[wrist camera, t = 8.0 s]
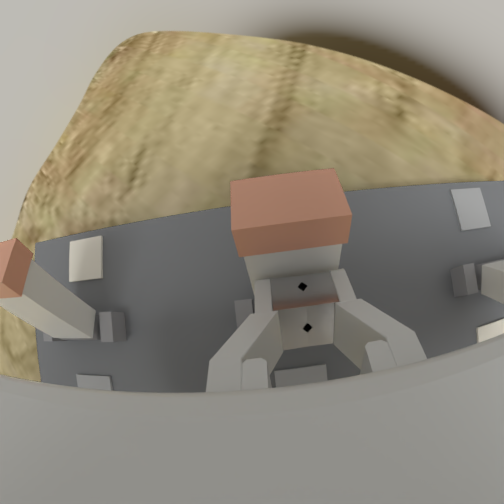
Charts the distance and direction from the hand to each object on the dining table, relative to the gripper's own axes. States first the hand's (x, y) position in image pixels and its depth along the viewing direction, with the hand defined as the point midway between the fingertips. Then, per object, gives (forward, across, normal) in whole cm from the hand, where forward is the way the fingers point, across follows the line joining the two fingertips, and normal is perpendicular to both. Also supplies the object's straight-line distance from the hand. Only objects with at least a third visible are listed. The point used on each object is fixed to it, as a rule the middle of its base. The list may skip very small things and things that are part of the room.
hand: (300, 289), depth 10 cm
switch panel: (+5, 0, +6) cm, 7 cm away
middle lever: (+3, 0, +3) cm, 4 cm away
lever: (+2, +12, +3) cm, 13 cm away
